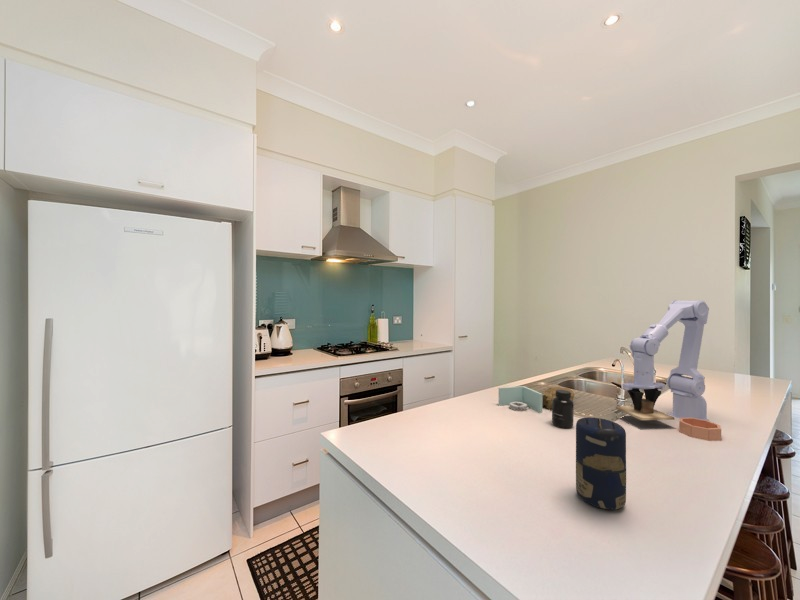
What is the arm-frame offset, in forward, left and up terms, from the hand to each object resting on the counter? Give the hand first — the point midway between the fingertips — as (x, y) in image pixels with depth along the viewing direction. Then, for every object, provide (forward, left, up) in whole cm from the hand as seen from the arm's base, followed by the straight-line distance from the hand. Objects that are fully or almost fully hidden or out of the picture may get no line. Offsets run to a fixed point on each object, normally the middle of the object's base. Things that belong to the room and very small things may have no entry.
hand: (643, 409), depth 118 cm
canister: (+46, +42, -5) cm, 63 cm away
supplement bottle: (+30, 0, -5) cm, 31 cm away
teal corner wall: (+38, -18, -5) cm, 42 cm away
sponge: (+19, -23, -5) cm, 31 cm away
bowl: (-10, +11, -5) cm, 16 cm away
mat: (0, 0, -5) cm, 5 cm away
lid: (0, 0, -2) cm, 2 cm away
